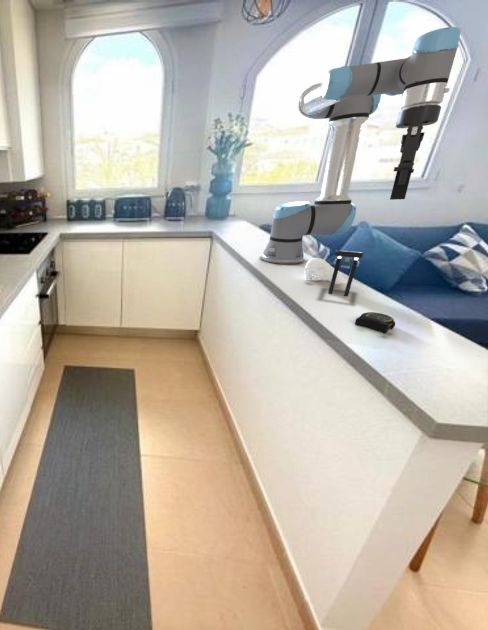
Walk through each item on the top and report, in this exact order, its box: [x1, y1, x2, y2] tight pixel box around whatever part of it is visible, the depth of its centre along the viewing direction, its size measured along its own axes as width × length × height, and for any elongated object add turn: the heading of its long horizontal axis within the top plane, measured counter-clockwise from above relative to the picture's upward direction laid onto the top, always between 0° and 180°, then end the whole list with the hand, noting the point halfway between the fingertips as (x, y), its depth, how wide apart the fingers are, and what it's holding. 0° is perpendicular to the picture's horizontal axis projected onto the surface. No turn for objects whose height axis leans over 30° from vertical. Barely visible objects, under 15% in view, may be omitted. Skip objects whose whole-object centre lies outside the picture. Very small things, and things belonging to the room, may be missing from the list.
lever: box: [334, 249, 364, 269], centre depth 100 cm, size 13×6×2 cm, turn 140°
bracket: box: [327, 256, 361, 297], centre depth 107 cm, size 11×8×13 cm
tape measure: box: [354, 311, 396, 334], centre depth 88 cm, size 7×7×4 cm
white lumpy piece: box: [304, 257, 346, 285], centre depth 118 cm, size 6×8×12 cm
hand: (397, 199), depth 90 cm, fingers open, 13 cm apart
